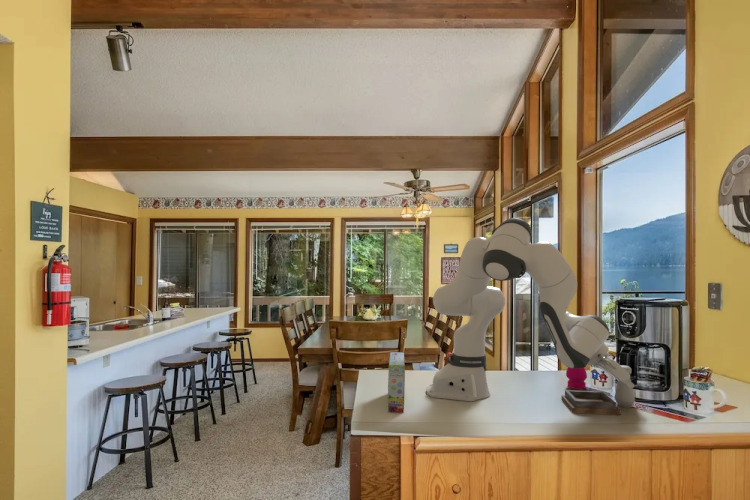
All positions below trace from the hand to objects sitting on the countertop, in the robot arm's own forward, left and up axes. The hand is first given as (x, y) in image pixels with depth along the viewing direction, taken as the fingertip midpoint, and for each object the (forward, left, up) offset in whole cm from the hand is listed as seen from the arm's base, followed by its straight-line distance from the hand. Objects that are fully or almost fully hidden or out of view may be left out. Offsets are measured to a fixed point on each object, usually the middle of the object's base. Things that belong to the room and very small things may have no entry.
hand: (626, 383), depth 141 cm
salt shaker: (-1, 0, -8) cm, 8 cm away
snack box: (-76, -9, -8) cm, 76 cm away
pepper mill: (-10, +21, -8) cm, 24 cm away
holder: (-13, -3, -7) cm, 15 cm away
